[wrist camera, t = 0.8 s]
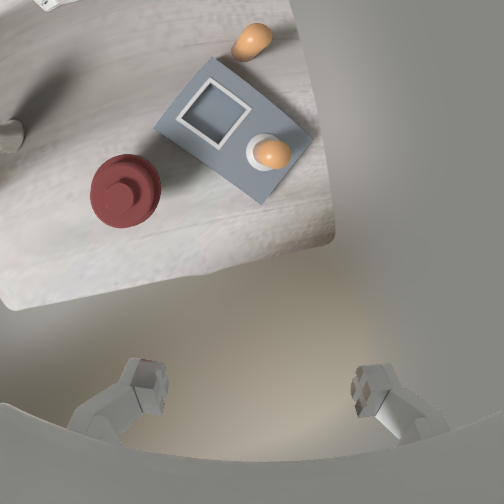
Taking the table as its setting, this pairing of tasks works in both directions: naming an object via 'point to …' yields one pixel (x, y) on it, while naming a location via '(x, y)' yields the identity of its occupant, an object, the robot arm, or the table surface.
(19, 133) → the beer glass
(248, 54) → the orange smooth rounded part
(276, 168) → the grey peg board
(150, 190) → the mechanical component
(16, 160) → the table surface
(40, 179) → the table surface
